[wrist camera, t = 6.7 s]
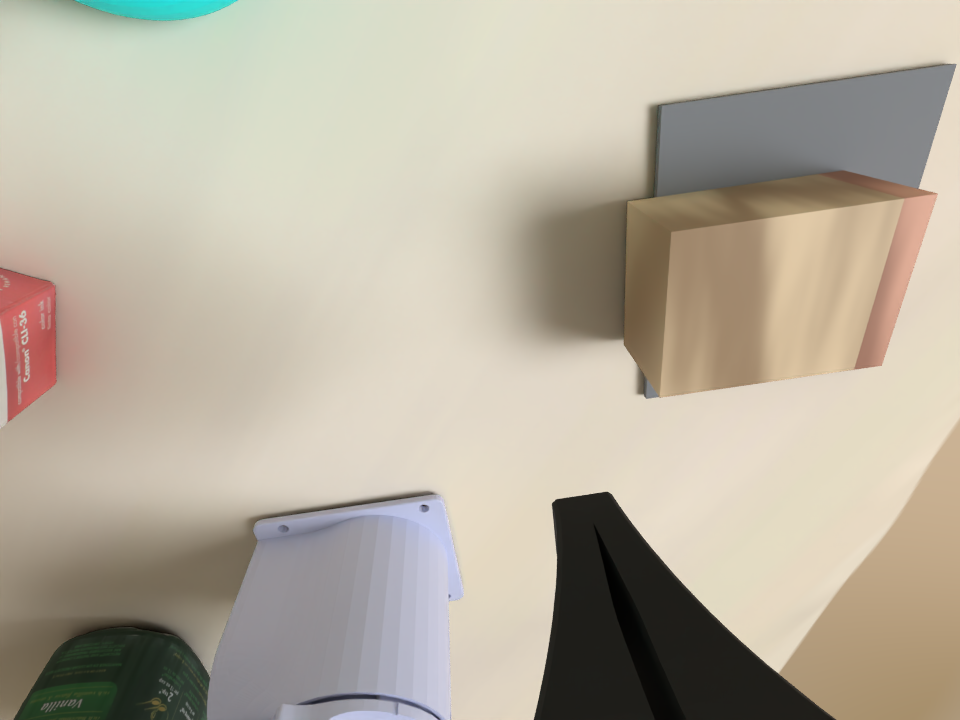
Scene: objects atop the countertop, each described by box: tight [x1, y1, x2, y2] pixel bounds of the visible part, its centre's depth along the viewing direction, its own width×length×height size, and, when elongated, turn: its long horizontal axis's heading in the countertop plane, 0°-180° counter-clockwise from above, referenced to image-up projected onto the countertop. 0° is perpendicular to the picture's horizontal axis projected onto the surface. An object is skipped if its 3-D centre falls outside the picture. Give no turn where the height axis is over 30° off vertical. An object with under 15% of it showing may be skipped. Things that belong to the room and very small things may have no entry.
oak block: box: [624, 170, 938, 398], centre depth 18 cm, size 4×6×8 cm
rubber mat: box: [644, 64, 956, 399], centre depth 20 cm, size 10×12×1 cm
